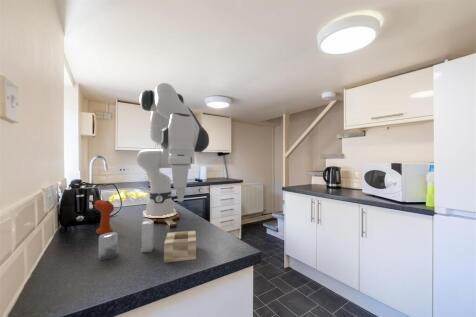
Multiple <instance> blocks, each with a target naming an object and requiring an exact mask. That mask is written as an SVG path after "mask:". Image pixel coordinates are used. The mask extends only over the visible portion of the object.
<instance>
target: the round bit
mask: <svg viewBox="0 0 476 317" xmlns="http://www.w3.org/2000/svg"><path fill="white" fill-rule="evenodd" d="M118 255H119V233H118V232H114V231H113V232H112V233H106V234H102V235H101V234H99V236H98V259H99V260H100V261H107V260H110V259H111V260H112V259H113V258H115V257H117V256H118Z"/></svg>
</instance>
